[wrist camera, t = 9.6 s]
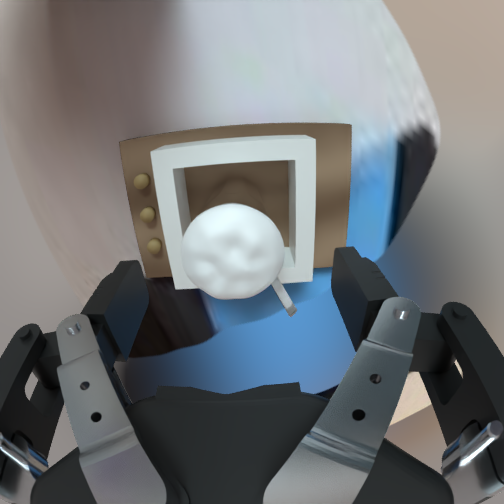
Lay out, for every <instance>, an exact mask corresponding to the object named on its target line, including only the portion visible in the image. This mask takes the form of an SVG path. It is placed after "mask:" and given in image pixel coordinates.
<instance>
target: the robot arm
mask: <svg viewBox="0 0 504 504" xmlns="http://www.w3.org/2000/svg"><path fill="white" fill-rule="evenodd" d="M331 288H332V294H333V297H334V299H335V301H336V304H337V306H338V308H339V311H340V314H341V316H342V318H343V321H344V323H345V326H346V328H347V331H348V333H349V336H350V339H351V341H352V344H353V346H354V349H355V351H356V352H357V353H356V355H355V357H354V359H353V361H352V363H351V364H350V366H349V368H348V370H347V372H346V374H345V376H344V377H343V379H342V381H341V383H340V384H339V386H338V388H337V390H336V391H335V393H334V395H333V396H332V398H331V400H329V399H327V398H324V397H322V396H318V395H315V394H310V393H305V392H301V390H300V385H299V382H296V383H287V384H274V385H263V386H259V387H256V388H252V389H248V390H244V391H240V392H236V393H232V394H219V393H215V392H210V391H206V390H201V389H197V388H193V387H172V386H158V388H157V393H156V396H152V397H148V398H145V399H142V400H139V401H138V402H135V403H133V404H132V402H131V400H130V398H129V396H128V394H127V392H126V390H125V389H124V386H123V385H122V382H121V380H120V378H119V376H118V374H117V372H116V370H115V368H114V363H115V361H122V362H126V361H127V359H128V356H129V353H130V350H131V348H132V345H133V342H134V340H135V337H136V334H137V332H138V329H139V327H140V324H141V321H142V319H143V316H144V314H145V311H146V309H147V306H148V303H149V294H148V289H147V286H146V283H145V279H144V276H143V272H142V269H141V265H140V263H139V261H138V260H130V261H120V262H119V264H118V265H117V267H116V268H115V270H114V271H113V273H110V274H109V275H108V276H106V277H105V278H104V279H103V280H102V281H101V282H100V284H99V285H98V287H97V289H96V290H95V291H94V293H93V295H92V296H91V297H90V299H89V301H88V302H87V304H86V305H85V307H84V308H83V310H82V312H81V313H80V314H75V315H72V316H70V317H67V318H66V319H64V320H63V321H62V322H61V323H60V324H59V325H58V327H57V330H56V331H55V332H50V333H45V334H43V333H42V331H41V329H40V327H39V326H38V325H37V324H28V325H25V326H23V327H22V328H20V329H19V330H18V331H17V332H16V333H15V335H14V336H13V338H12V339H11V341H10V343H9V344H8V346H7V348H6V349H5V351H4V353H3V354H2V356H1V358H0V498H1V499H2V500H4V501H6V502H8V503H11V504H479V503H481V502H483V501H485V500H487V499H489V498H491V497H493V496H495V495H497V494H498V493H500V492H502V491H503V490H504V357H503V355H502V354H501V352H500V350H499V349H498V347H497V346H496V344H495V343H494V341H493V340H492V338H491V337H490V335H489V334H488V332H487V331H486V329H485V328H484V327H483V325H482V324H481V322H480V321H479V320H478V318H477V317H476V315H475V314H474V313H473V311H472V310H471V309H470V308H469V307H467V306H466V305H464V304H461V303H458V302H448V303H446V304H445V305H444V306H443V307H442V310H441V312H440V314H434V313H422V312H421V311H420V308H419V307H418V306H417V305H416V303H414V302H413V301H411V300H409V299H406V298H403V297H399V296H398V295H397V293H396V292H395V291H394V289H393V288H392V286H391V285H390V283H389V282H388V280H387V279H385V276H384V275H383V273H381V271H380V269H379V268H378V266H377V265H376V264H375V263H374V262H372V261H371V260H369V259H368V258H366V257H365V258H362V257H361V256H360V255H359V253H358V252H357V250H356V249H355V248H354V247H338V248H335V250H334V257H333V268H332V278H331ZM455 360H457V362H458V363H459V365H460V367H461V369H462V372H463V378H462V376H461V374H460V373H459V371H458V369H457V367H456V365H455V363H454V362H455ZM408 371H415V372H419V373H420V376H421V378H422V380H423V383H424V385H425V388H426V390H427V393H428V395H429V398H430V400H431V403H432V405H433V408H434V411H435V413H436V416H437V419H438V421H439V424H440V427H441V430H442V433H443V436H444V438H445V442H446V444H447V448H446V449H445V451H444V453H443V456H442V467H441V472H442V475H441V474H439V473H438V472H437V471H435V470H434V469H432V468H430V467H428V466H427V465H425V464H424V463H422V462H421V461H419V460H417V459H416V458H414V457H413V456H411V455H410V454H408V453H407V452H405V451H403V450H402V449H400V448H399V447H397V446H396V445H394V444H393V443H392V442H390V441H389V440H387V439H386V438H384V436H385V434H386V432H387V429H388V427H389V425H390V422H391V420H392V417H393V415H394V412H395V409H396V407H397V404H398V401H399V399H400V396H401V393H402V390H403V387H404V384H405V381H406V378H407V375H408ZM31 372H33V373H34V375H35V376H36V377H37V379H38V382H37V385H36V387H35V389H34V391H33V394H32V396H31V399H30V401H29V400H28V398H27V397H26V394H25V385H26V382H27V380H28V378H29V376H30V374H31ZM64 402H65V406H66V409H67V413H68V417H69V420H70V423H71V426H72V430H73V433H74V436H75V438H76V441H77V444H78V447H77V448H75V449H74V450H73V451H71V452H70V453H69V454H68V455H66V456H65V457H64V458H62V459H61V460H60V461H58V462H57V463H56V464H54V465H53V466H52V467H50V468H48V462H47V458H48V454H49V450H50V447H51V443H52V440H53V436H54V433H55V429H56V426H57V423H58V420H59V417H60V414H61V411H62V408H63V405H64Z"/></svg>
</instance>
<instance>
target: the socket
mask: <svg viewBox="0 0 504 504" xmlns="http://www.w3.org/2000/svg"><path fill="white" fill-rule="evenodd" d="M150 153H151V160H152V167H153V174H154V181H155V187H156V194H157V200H158V206H159V211H160V217H161V222H162V228H163V233H164V238H165V243H166V248H167V253H168V257H169V262H170V267H171V271H172V276H173V280H174V284H175V289H194V288H198V287H197V286H196V285H195V284H193V283H192V282H191V280H190V279H189V278H188V276H187V275H186V273H185V270H184V268H183V264H182V258H181V244H182V240H183V237H184V234H185V232H186V230H187V228H188V227H189V225H190V224H191V218H190V211H189V204H188V197H187V189H186V181H185V173H184V167H193V166H203V165H213V164H225V163H238V162H254V161H275V160H288V183H289V247H284V249H285V258H284V263H283V266H282V269H281V271H280V273H279V274H278V276H277V277H278V279H279V280H280V282H281V284H282V283H296V282H309V281H312V278H313V260H314V238H315V206H316V139H314V138H312V137H309V136H307V135H274V136H252V137H237V138H224V139H213V140H203V141H194V142H186V143H178V144H171V145H164V146H162V147H159V148H157V149H155V150H153V151H151V152H150Z"/></svg>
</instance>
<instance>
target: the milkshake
mask: <svg viewBox="0 0 504 504" xmlns="http://www.w3.org/2000/svg"><path fill="white" fill-rule="evenodd" d="M181 258H182V264H183V268H184V270H185V273H186V275H187V276H188V278H189V279H190V280H191V282H192V283H193V284H195V285H196V286H197V287H198V288H200V289H201V290H203V291H204V292H206V293H207V294H209V295H210V296H212V297H214V298H217V299H244V298H249V297H252V296H255V295H257V294H259V293H260V292H262V291H263V290H265V289H266V288H267V287H268V286H269V285H270V284H271V285H272V287H273V288H274V290H275V292H276V294H277V295H278V297H279V299H280V301H281V302H282V304H283V306H284V308H285V309H286V311H287V313H288V315H289V316H290V317H291V316H293V315H294V314H295V313H296V311H297V309H296V307H295V305H294V304H293V302H292V300H291V299H290V297H289V295H288V294H287V292H286V290H285V289H284V287H283V285H282V284H281V282H280V280H279V279H278V277H277V276H278V274H279V273H280V271H281V269H282V266H283V263H284V258H285V249H284V243H283V239H282V236H281V234H280V232H279V230H278V228H277V226H276V225H275V223H274V221H273V219H272V218H271V216H270V214H269V212H268V211H267V209H266V207H265V205H264V203H263V201H262V198H261V196H260V194H259V192H258V190H257V187H256V186H254V185H253V184H251V183H250V182H248V181H247V180H245V179H244V178H237V179H227V180H226V181H225V182H223V183H222V184H221V185H220V186H218V187H217V188H216V189H215V191H214V192H213V193H212V195H211V196H210V198H209V199H208V201H207V202H206V204H205V205H204V207H203V208H202V210H201V211H200V212H199V213H198V215H197V216H196V217H195V219H194V220H193V221H192V222H191V224H190V225H189V227H188V228H187V230H186V232H185V234H184V237H183V240H182V244H181Z"/></svg>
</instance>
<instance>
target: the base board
mask: <svg viewBox="0 0 504 504" xmlns="http://www.w3.org/2000/svg"><path fill="white" fill-rule="evenodd" d="M274 135H307V136H309V137H312V138H314V139H316V206H315V238H314V260H313V268H322V267H333V257H334V250H335V248H338V247H346V240H347V228H348V215H349V200H350V180H351V140H352V125H350V124H340V123H263V124H244V125H230V126H219V127H209V128H199V129H191V130H183V131H176V132H169V133H163V134H156V135H150V136H145V137H139V138H134V139H129V140H124V141H121V142H119V145H120V152H121V159H122V166H123V172H124V178H125V184H126V189H127V195H128V200H129V205H130V210H131V215H132V219H133V224H134V228H135V233H136V237H137V241H138V246H139V250H140V254H141V258H142V262H143V265H144V269H145V273H146V277H147V278H152V277H173V276H172V271H171V267H170V262H169V257H168V253H167V248H166V243H165V238H164V233H163V228H162V222H161V217H160V211H159V206H158V200H157V194H156V187H155V181H154V174H153V167H152V160H151V153H150V152H151V151H153V150H155V149H157V148H159V147H162V146H164V145H171V144H178V143H186V142H194V141H203V140H213V139H224V138H237V137H252V136H274ZM184 173H185V181H186V189H187V197H188V204H189V211H190V218H191V222H192V221H193V220H194V219H195V217H196V216H197V215H198V213H199V212H200V211H201V210H202V208H203V207H204V205H205V204H206V202H207V201H208V199H209V198H210V196H211V195H212V193H213V192H214V191H215V189H216V188H217V187H218V186H220V185H221V184H222V183H223V182H225V181H226V180H227V179H237V178H244V179H245V180H247V181H248V182H250V183H251V184H253V185H254V186H256V187H257V190H258V192H259V194H260V196H261V198H262V201H263V203H264V205H265V207H266V209H267V211H268V212H269V214H270V216H271V218H272V219H273V221H274V223H275V225H276V226H277V228H278V230H279V232H280V234H281V236H282V239H283V243H284V247H289V183H288V160H275V161H254V162H238V163H225V164H213V165H203V166H193V167H184Z"/></svg>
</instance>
